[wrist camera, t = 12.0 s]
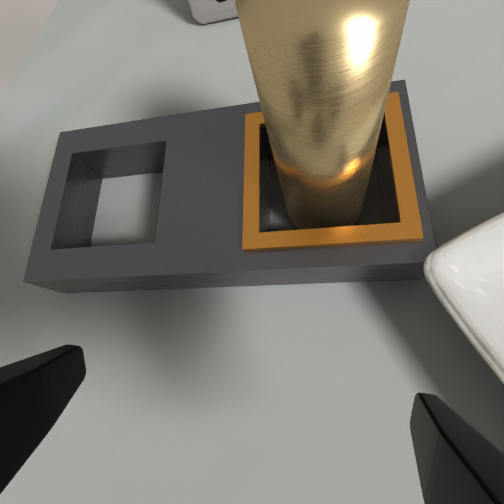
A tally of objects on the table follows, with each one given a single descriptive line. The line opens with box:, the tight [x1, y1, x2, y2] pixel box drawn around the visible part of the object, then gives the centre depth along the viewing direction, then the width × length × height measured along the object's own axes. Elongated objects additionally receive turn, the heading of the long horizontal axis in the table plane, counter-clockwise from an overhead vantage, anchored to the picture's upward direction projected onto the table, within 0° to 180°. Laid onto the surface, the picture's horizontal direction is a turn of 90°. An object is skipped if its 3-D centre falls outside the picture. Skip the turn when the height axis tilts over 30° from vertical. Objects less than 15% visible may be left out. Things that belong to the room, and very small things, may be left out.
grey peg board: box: [23, 80, 436, 293], centre depth 19 cm, size 21×10×3 cm, turn 89°
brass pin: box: [235, 0, 410, 230], centre depth 14 cm, size 4×4×12 cm
